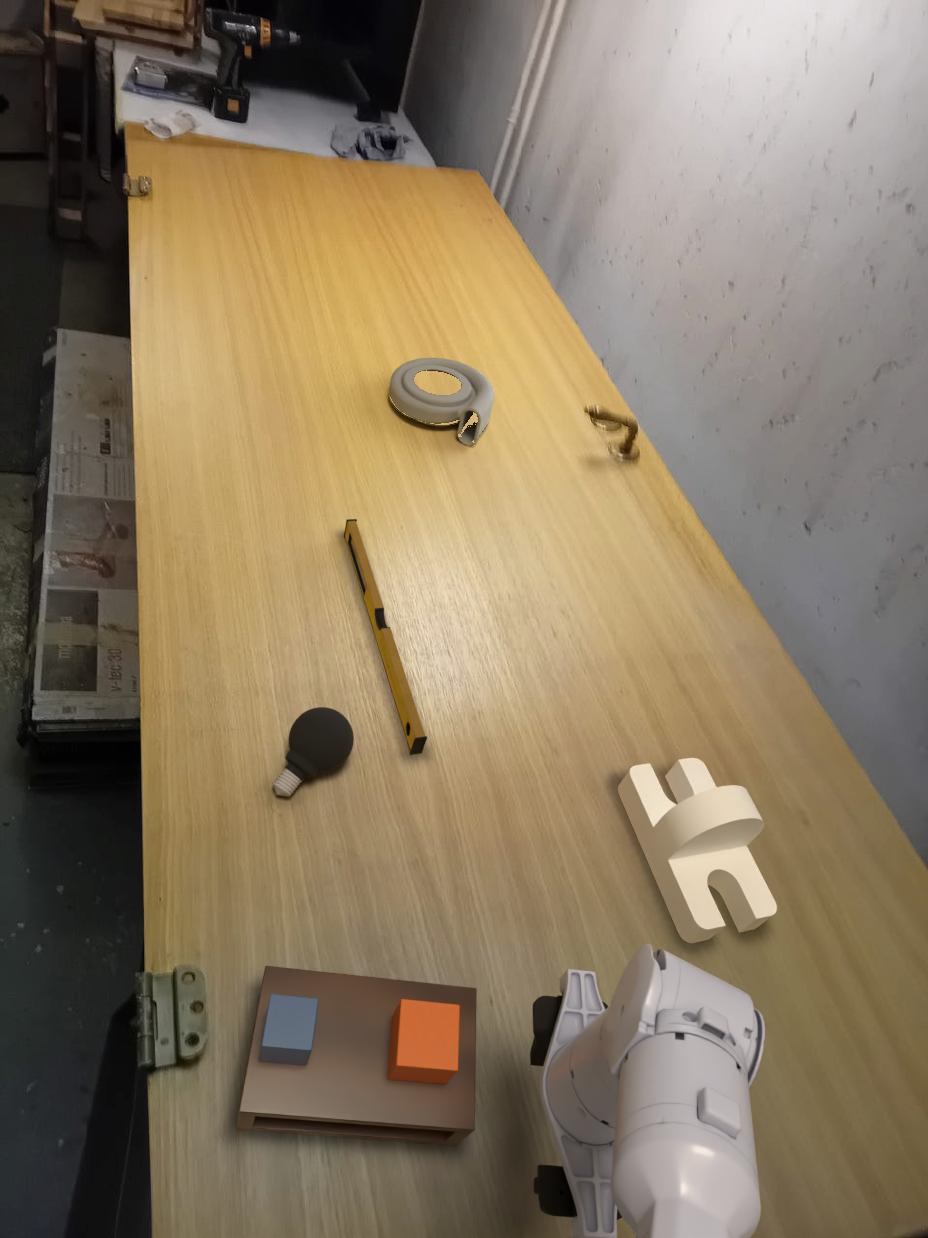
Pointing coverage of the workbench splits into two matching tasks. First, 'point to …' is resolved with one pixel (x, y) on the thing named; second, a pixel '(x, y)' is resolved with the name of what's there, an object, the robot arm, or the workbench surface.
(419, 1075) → the orange box
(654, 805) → the cream double-notched bracket
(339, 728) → the light bulb
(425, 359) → the turbocharger housing
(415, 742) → the spirit level
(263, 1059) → the blue box
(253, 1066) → the shelf
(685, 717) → the workbench surface
